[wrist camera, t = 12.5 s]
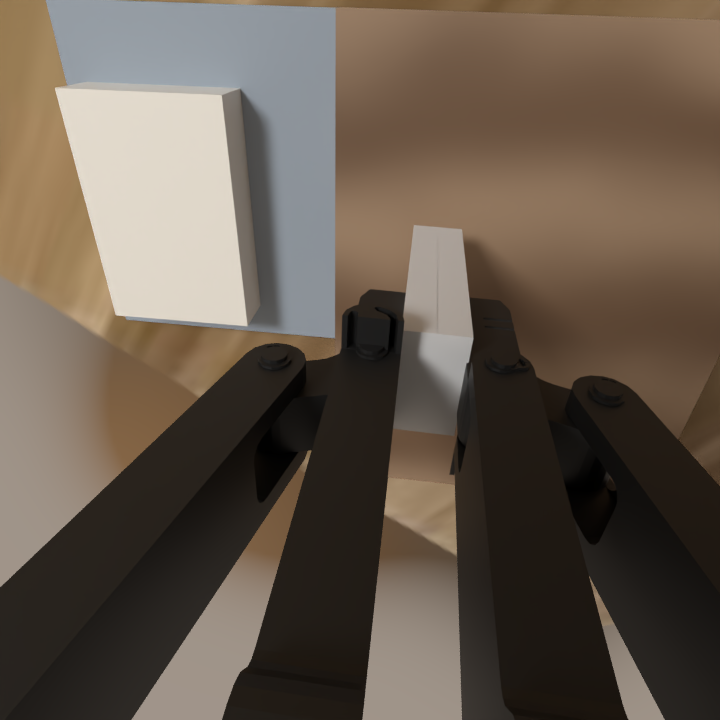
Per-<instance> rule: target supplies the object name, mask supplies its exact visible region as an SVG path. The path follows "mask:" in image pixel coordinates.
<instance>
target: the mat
mask: <svg viewBox="0 0 720 720" xmlns="http://www.w3.org/2000/svg"><path fill="white" fill-rule="evenodd" d="M46 3H47V7H48V11H49V15H50V19H51V23H52V26H53V30H54V34H55V38H56V42H57V46H58V50H59V54H60V58H61V62H62V66H63V70H64V74H65V78H66V82H67V86H68V85H73V84H78V83H83V82H103V83H127V84H151V85H176V86H200V87H224V88H240V91H241V101H242V112H243V123H244V134H245V144H246V155H247V166H248V176H249V187H250V198H251V209H252V219H253V230H254V241H255V251H256V262H257V273H258V284H259V294H260V307H259V308H258V310H257V312H256V313H255V315H254V317H253V318H252V320H251V321H250V323H249V325H248V326H238V325H226V324H214V323H202V322H190V321H178V320H166V319H154V318H142V317H130V316H126V320H137V321H148V322H159V323H170V324H182V325H193V326H204V327H215V328H226V329H237V330H249V331H260V332H271V333H282V334H293V335H304V336H316V337H327V338H335V66H336V8H326V7H296V6H266V5H236V4H206V3H176V2H146V1H116V0H46Z"/></svg>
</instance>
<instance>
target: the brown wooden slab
mask: <svg viewBox="0 0 720 720" xmlns="http://www.w3.org/2000/svg"><path fill="white" fill-rule="evenodd" d="M414 225H419V226H431V227H442V228H454V229H462V234H463V244H464V253H465V263H466V272H467V281H468V291H469V297H471V298H481V299H491V300H500V301H501V302H502V303H503V304H504V305H505V306H506V307H507V308H508V309H509V310H510V313H511V317H512V322H513V325H514V331H515V334H516V338H517V342H518V346H519V350H520V355H522V356H524V357H525V358H526V359H528V360H529V361H530V362H531V364H532V365H533V367H534V369H535V373H536V377H538V378H540V379H542V380H543V381H546V382H549V383H551V384H554V385H558V386H561V387H564V388H568V389H571V388H572V385H573V382H574V381H575V380H577V379H578V378H580V377H584V376H590V375H592V376H604V377H608V378H612V379H615V380H617V381H619V382H621V383H623V384H625V385H627V386H628V387H629V388H631V389H632V390H633V391H634V392H636V393H637V394H638V395H639V397H640V398H641V399H642V400H643V401H644V402H645V403H646V404H647V406H648V407H649V408H650V409H651V410H652V411H653V412H654V413H655V414H656V416H657V417H658V418H659V419H660V420H661V421H662V422H663V423H664V425H665V426H666V427H667V428H668V429H669V430H670V431H671V432H672V434H673V435H674V436H675V437H676V438H677V439H679V437H680V435H681V433H682V431H683V429H684V427H685V425H686V423H687V421H688V419H689V417H690V415H691V413H692V411H693V409H694V407H695V405H696V403H697V401H698V399H699V397H700V395H701V393H702V391H703V389H704V387H705V385H706V383H707V380H708V378H709V376H710V374H711V372H712V370H713V368H714V366H715V364H716V362H717V360H718V358H719V356H720V20H707V19H677V18H647V17H617V16H587V15H557V14H527V13H497V12H467V11H436V10H406V9H376V8H346V7H336V66H335V355H337V354H339V353H340V350H341V337H342V315H343V313H344V312H345V311H346V310H347V309H349V308H351V307H353V306H355V305H358V304H359V300H360V297H361V296H362V295H363V294H365V293H366V292H367V291H368V290H370V289H375V290H385V291H395V292H405V293H406V288H407V279H408V271H409V262H410V254H411V245H412V237H413V228H414ZM456 438H457V424H456V429H455V434H454V436H451V435H442V434H434V433H425V432H417V431H408V430H400V429H393V434H392V443H391V453H390V462H389V471H388V477H391V478H399V479H408V480H417V481H426V482H435V483H444V484H453V485H455V474H454V475H449V473H450V468H451V463H452V458H453V453H454V448H455V443H456ZM610 479H611V480H612V478H611V477H610ZM612 481H613V480H612ZM613 483H614V482H613Z"/></svg>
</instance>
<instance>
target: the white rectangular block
mask: <svg viewBox="0 0 720 720" xmlns="http://www.w3.org/2000/svg"><path fill="white" fill-rule="evenodd" d="M55 90H56V94H57V98H58V102H59V105H60V109H61V113H62V116H63V120H64V124H65V128H66V131H67V135H68V139H69V142H70V146H71V150H72V154H73V157H74V161H75V165H76V168H77V172H78V176H79V180H80V183H81V187H82V191H83V194H84V198H85V202H86V206H87V209H88V213H89V217H90V220H91V224H92V228H93V232H94V235H95V239H96V243H97V246H98V250H99V254H100V258H101V261H102V265H103V269H104V272H105V276H106V280H107V284H108V287H109V291H110V295H111V298H112V302H113V306H114V310H115V313H116V315H118V316H130V317H142V318H154V319H166V320H178V321H190V322H202V323H214V324H226V325H238V326H248V325H249V323H250V321H251V320H252V318H253V317H254V315H255V313H256V312H257V310H258V308H259V307H260V294H259V284H258V273H257V262H256V251H255V241H254V230H253V219H252V209H251V198H250V187H249V176H248V166H247V155H246V144H245V134H244V123H243V112H242V101H241V91H240V88H224V87H200V86H176V85H151V84H127V83H103V82H83V83H78V84H73V85H68V86H62V87H57V88H55Z"/></svg>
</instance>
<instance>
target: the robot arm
mask: <svg viewBox="0 0 720 720" xmlns="http://www.w3.org/2000/svg"><path fill="white" fill-rule="evenodd" d="M456 424H457V438H456V443H455V448H454V453H453V458H452V463H451V468H450V473H449V475H454V474H455V500H456V533H457V562H458V563H457V566H458V598H459V629H460V630H459V632H460V665H461V695H462V696H461V698H462V720H628V718H627V716H626V713H625V710H624V707H623V704H622V700H621V697H620V692H619V689H618V685H617V681H616V677H615V673H614V670H613V666H612V662H611V658H610V654H609V651H608V647H607V643H606V640H605V636H604V632H603V628H602V624H601V620H600V616H599V613H598V609H597V605H596V601H595V597H594V594H593V590H592V586H591V582H590V578H591V580H592V582H593V584H594V586H595V587H596V589H597V591H598V593H599V595H600V597H601V599H602V601H603V603H604V605H605V607H606V608H607V610H608V612H609V614H610V616H611V618H612V620H613V622H614V624H615V626H616V627H617V629H618V631H619V633H620V635H621V637H622V639H623V641H624V643H625V645H626V646H627V648H628V650H629V652H630V654H631V656H632V658H633V660H634V662H635V664H636V666H637V667H638V669H639V671H640V673H641V675H642V677H643V679H644V681H645V683H646V684H647V686H648V688H649V690H650V692H651V694H652V696H653V698H654V700H655V702H656V703H657V706H658V707H659V709H660V711H661V713H662V715H663V717H664V719H665V720H720V486H719V485H718V484H717V483H716V482H715V481H714V479H713V478H712V477H711V476H710V475H709V474H708V473H707V472H706V470H705V469H704V468H703V467H702V466H701V465H700V464H699V463H698V461H697V460H696V459H695V458H694V457H693V456H692V455H691V454H690V453H689V451H688V450H687V449H686V448H685V447H684V446H683V445H682V444H681V442H680V441H679V440H678V439H677V438H676V437H675V436H674V435H673V434H672V432H671V431H670V430H669V429H668V428H667V427H666V426H665V425H664V423H663V422H662V421H661V420H660V419H659V418H658V417H657V416H656V414H655V413H654V412H653V411H652V410H651V409H650V408H649V407H648V406H647V404H646V403H645V402H644V401H643V400H642V399H641V398H640V397H639V395H638V394H637V393H636V392H634V391H633V390H632V389H631V388H629V387H628V386H627V385H625V384H623V383H621V382H619V381H617V380H615V379H612V378H608V377H604V376H592V375H590V376H584V377H580V378H578V379H577V380H575V381H574V382H573V385H572V388H571V389H568V388H564V387H561V386H558V385H554V384H551V383H549V382H546V381H543V380H542V379H540V378H538V377H536V373H535V369H534V367H533V365H532V364H531V362H530V361H529V360H528V359H526V358H525V357H524V356H522V355H520V350H519V346H518V342H517V338H516V334H515V331H514V325H513V322H512V317H511V313H510V310H509V309H508V308H507V307H506V306H505V305H504V304H503V303H502V302H501V301H500V300H491V299H481V298H471V297H469V291H468V281H467V272H466V263H465V253H464V244H463V234H462V229H454V228H442V227H431V226H419V225H414V228H413V237H412V245H411V254H410V262H409V271H408V279H407V288H406V293H405V292H395V291H385V290H375V289H370V290H368V291H367V292H366V293H365V294H363V295H362V296H361V297H360V300H359V304H358V305H355V306H353V307H351V308H349V309H347V310H346V311H345V312H344V313H343V315H342V337H341V350H340V353H339V354H337V355H335V356H333V357H330V358H327V359H321V360H312V361H306V359H305V355H304V353H303V352H302V351H301V350H299V349H298V348H296V347H293V346H291V345H287V344H280V343H274V344H272V343H271V344H265V345H262V346H259V347H255V348H254V349H252V350H251V351H249V352H248V353H246V354H245V355H244V356H243V357H242V358H241V359H240V360H239V361H238V362H237V363H236V364H235V365H234V366H233V367H232V368H231V369H230V370H229V371H227V372H226V373H225V374H224V375H223V376H222V377H221V378H220V379H219V380H218V381H217V382H216V383H215V384H214V385H213V386H212V387H211V388H210V389H209V390H207V391H206V392H205V393H204V394H203V395H202V396H201V397H200V398H199V399H198V400H197V401H196V402H195V403H194V404H193V405H192V406H191V407H190V408H189V409H188V410H186V411H185V412H184V413H183V414H182V415H181V416H180V417H179V418H178V419H177V420H176V421H175V422H174V423H173V424H172V425H171V426H170V427H169V428H168V429H166V430H165V431H164V432H163V433H162V434H161V435H160V436H159V437H158V438H157V439H156V440H155V441H154V442H153V443H152V444H151V445H150V446H149V447H148V448H146V450H144V451H143V452H142V453H141V454H140V455H139V456H138V457H137V458H136V459H135V460H134V461H133V462H132V463H131V464H130V465H129V466H128V467H127V468H125V469H124V470H123V471H122V472H121V473H120V474H119V475H118V476H117V477H116V478H115V479H114V480H113V481H112V482H111V483H110V484H109V485H108V486H107V487H105V488H104V489H103V490H102V491H101V492H100V493H99V494H98V495H97V496H96V497H95V498H94V499H93V500H92V501H91V502H90V503H89V504H88V505H87V506H85V508H83V510H81V512H79V513H78V514H77V515H76V516H75V517H74V518H73V519H72V520H71V521H70V522H69V523H68V524H67V525H66V526H65V527H63V528H62V529H61V530H60V531H59V532H58V533H57V534H56V535H55V536H54V537H53V538H52V539H51V540H50V541H49V542H48V543H47V544H45V546H43V547H42V548H41V549H40V550H39V551H38V552H37V553H36V554H35V555H34V556H33V557H32V558H31V559H30V560H29V561H28V562H27V563H26V564H24V566H22V567H21V568H20V569H19V570H18V571H17V572H16V573H15V574H14V575H13V576H12V577H11V578H10V579H9V580H8V581H7V582H6V583H5V584H3V585H2V586H1V587H0V720H131V719H132V718H133V716H134V715H135V713H136V712H137V710H138V709H139V707H140V706H141V704H142V703H143V701H144V700H145V698H146V697H147V695H148V694H149V692H150V691H151V689H152V688H153V686H154V685H155V683H156V682H157V680H158V679H159V677H160V676H161V674H162V673H163V671H164V670H165V668H166V667H167V665H168V664H169V662H170V661H171V659H172V658H173V656H174V655H175V653H176V652H177V650H178V649H179V647H180V646H181V644H182V643H183V641H184V640H185V638H186V637H187V635H188V634H189V632H190V631H191V629H192V628H193V626H194V625H195V623H196V622H197V620H198V619H199V617H200V616H201V614H202V613H203V611H204V610H205V608H206V607H207V605H208V604H209V602H210V601H211V599H212V598H213V596H214V595H215V593H216V592H217V590H218V589H219V587H220V586H221V584H222V583H223V581H224V580H225V578H226V577H227V575H228V574H229V572H230V571H231V569H232V568H233V566H234V565H235V563H236V562H237V560H238V559H239V557H240V556H241V554H242V552H243V551H244V549H245V548H246V547H247V545H248V543H249V542H250V541H251V539H252V538H253V536H254V534H255V533H256V531H257V530H258V528H259V527H260V525H261V524H262V522H263V521H264V519H265V518H266V516H267V515H268V513H269V512H270V510H271V509H272V507H273V506H274V504H275V503H276V501H277V500H278V498H279V497H280V495H281V494H282V492H283V491H284V489H285V488H286V486H287V485H288V483H289V482H290V480H291V479H292V477H293V476H294V474H295V473H296V471H297V470H298V468H299V467H300V465H301V464H302V462H303V461H304V459H305V457H306V454H307V451H308V450H312V451H311V455H310V458H309V462H308V465H307V469H306V472H305V476H304V480H303V483H302V486H301V490H300V493H299V497H298V500H297V504H296V507H295V511H294V514H293V518H292V521H291V525H290V528H289V532H288V535H287V539H286V542H285V546H284V549H283V553H282V556H281V560H280V563H279V567H278V570H277V574H276V577H275V581H274V584H273V587H272V591H271V594H270V598H269V601H268V605H267V608H266V612H265V616H264V619H263V623H262V626H261V629H260V633H259V637H258V640H257V644H256V647H255V650H254V653H253V656H252V659H251V662H250V663H249V665H248V667H246V668H245V669H244V670H242V671H241V672H240V674H239V676H238V677H237V679H236V681H235V683H234V685H233V689H232V691H231V694H230V697H229V700H228V703H227V706H226V709H225V712H224V715H223V719H222V720H362V717H363V708H364V698H365V688H366V679H367V669H368V659H369V650H370V641H371V631H372V622H373V613H374V603H375V593H376V584H377V575H378V566H379V556H380V546H381V537H382V528H383V518H384V509H385V500H386V490H387V481H388V471H389V462H390V453H391V443H392V434H393V429H400V430H408V431H417V432H425V433H434V434H442V435H451V436H454V434H455V429H456ZM610 477H611V478H612V480H613V481H612V480H611V479H610ZM613 482H614V483H613ZM588 574H589V575H588ZM589 576H590V578H589Z"/></svg>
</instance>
